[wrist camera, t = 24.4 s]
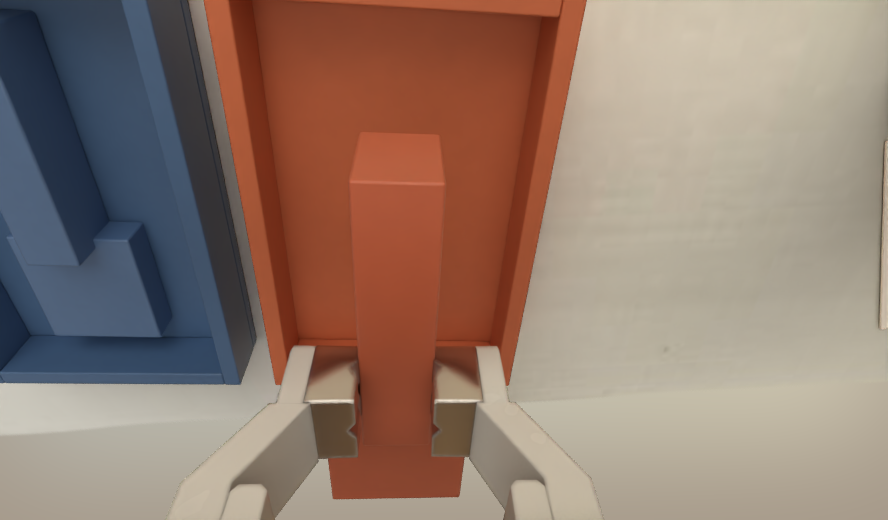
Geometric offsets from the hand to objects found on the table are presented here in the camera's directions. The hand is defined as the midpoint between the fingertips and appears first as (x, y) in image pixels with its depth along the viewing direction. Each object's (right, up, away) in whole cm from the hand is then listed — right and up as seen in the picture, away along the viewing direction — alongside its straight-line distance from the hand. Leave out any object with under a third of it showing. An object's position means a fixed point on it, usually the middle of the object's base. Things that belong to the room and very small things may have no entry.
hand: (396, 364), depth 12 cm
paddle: (-11, +5, +5) cm, 13 cm away
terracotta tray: (-1, +5, +6) cm, 8 cm away
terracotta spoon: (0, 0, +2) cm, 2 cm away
